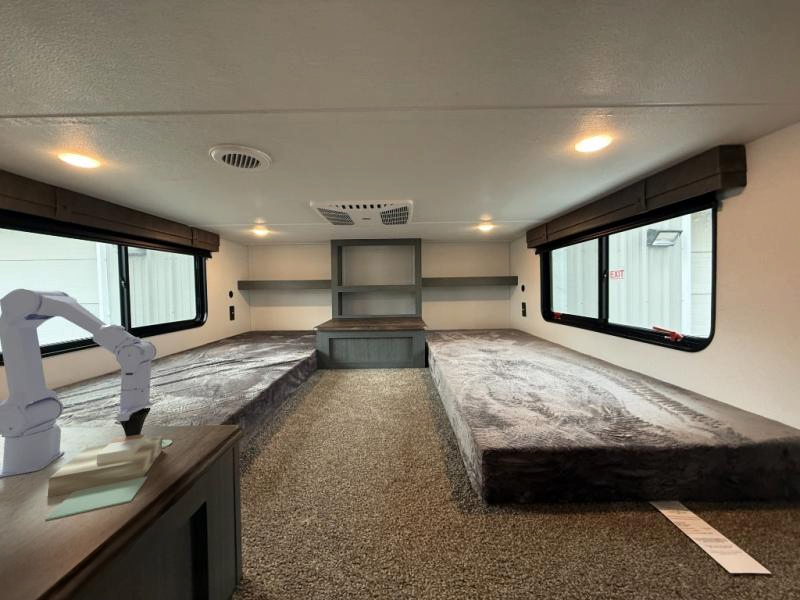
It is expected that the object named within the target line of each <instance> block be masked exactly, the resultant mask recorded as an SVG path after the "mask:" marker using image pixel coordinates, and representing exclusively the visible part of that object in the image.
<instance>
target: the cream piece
mask: <svg viewBox="0 0 800 600" xmlns="http://www.w3.org/2000/svg"><path fill="white" fill-rule="evenodd" d="M162 440H163V435H161V436H154V437H146V442H145V443H144V444H143V445H142V446H141V447H140V448H139V450H138V451H137V452H136V453H135V454H134V455H133V456H132V457H131V458H126V459H121V460H115V461H109V462H103V463H97V454H98V453H100V452H101V451H102V450H103V449H104V448H105V447H106V446H108V445H109V444H110V443H108V444H102V445H95V446H89V447H88V446H87V447H86V448H85V449H84V450H82V451H81V452H79V453H78V454H77V455H76V456H75V457H73V458H72V459H71V460H69V461H68V462H67V463H66V464H64V465H63V466H62V467H60V468H59V469H58V470H57V471H55V472H54V473H52V475H50V476H49V477H48V484H47V486H48V488H47V498H51V497H56V496H61V495H65V494H72V493H73V492H74V491H77V490H82V489H87V488H92V487H97V486H102V485H107V484H112V483H117V482H122V481H127V480H132V479H137V478H142V477H145V475H146V473H147V472H148V471H149V469H150V468H151V467H152V465H153V464H154V462H155V461H156V460H157V458H158V457H159V455H160V454H161V452H162V451H163V448H162ZM96 463H97V464H96Z"/></svg>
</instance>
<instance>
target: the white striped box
mask: <svg viewBox="0 0 800 600" xmlns="http://www.w3.org/2000/svg"><path fill="white" fill-rule="evenodd" d="M146 438H147V433H140V435H134V436H127V437H126V436H123V437H115V438H114V439H113V440H112V441H111V442H110V443H108V444H109V445H108V446H106V447H105V448H104V449H103V450H102V451H101V452H100V453H98V454H97V463H103V462H109V461H115V460H121V459H126V458H131V457H132V456H133V455H134V454H135V453H136V452H137V451H138V450H139V448H140V447H141V446H142V445H143V444H144V443H145V442H146ZM97 463H96V464H97Z"/></svg>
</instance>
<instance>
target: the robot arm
mask: <svg viewBox="0 0 800 600" xmlns="http://www.w3.org/2000/svg"><path fill="white" fill-rule="evenodd" d="M0 311H1V313H0V346H1V353H2V359H3V364H4V365H3V366H4V370H5V377H6V382H7V389H8V397H6V398H5V399H4V400H3V401H1V403H0V436H1V438H4V443H3V458H2V468H1V469H0V478H2V477H8V476H9V477H10V476H15V475H20V474H27V473H31V472H37V471H40V470H43V469H44V468H45V467H47V466H48V465H49V464H50V463H52V462H54V461H55V460H56V459H58V458H59V457H60V456H61V455H63V454H64V453H65V450H60V449H61V437H62V436H61V434H62V430H61V427H60V425H58V424H56V423H57V419H58V418H60V417H61V415H62V414H63V413H64V404H63V402H62V401H61V400H60V399H59V397H58V394H57V392H56V391H54V390H52V389H51V388H48V387H47V384H46V379H45V378H46V377H45V371H44V367H43V360H42V354H41V349H40V347H41V346H40V341H39V336H38V330H37V329H38V328H39V327H40V326H41V325H42V324H43V323H46V321H49V320H50V319H53V318H55V317H59V318H60V317H61V318H64V319H65V320H66V321H69V322H71V323H73V324H74V325H76V326H78V327H79V328H81V329H83V330H84V331H86V332H88V333H90V334H92V341H93V342H94V343H96V344H98V345H99V346H100V347H102V348H103V349H105V350H107V351H108V352H110V353H111V354H114V356H115V360H116V362H117V363H118V364H119V366H120V371H121V376H120V377H121V380H120V400H119V406H118V413H117V414H116V422H118V423H120V425H121V426H122V429H123V432H124V435H125V437H127V436H134V435H141V434H142V430H143V426H144V423H145V421H146V418H147V416H148V415H149V413H150V412H151V409H152V408H151V406H154V405H155V404H156V401H155V400H152V401H151V400H150V397H151V395H150V394H151V393H150V392H151V379H152V378H151V374H152V360H154V358H155V357H156V356H157V352H158V351H157V348H156V346H155V345H154V344H153V343H152V342H151V341H146V340H145V341H142V340H141V338H140V337H138V336H137V337H136V336H134V335H132V334H131V333H130V332H128V331H126V330H125V329H126V327H124V325H117V324H107V323H105V322H104V321H103V320H102V319H100V318H99V317H97V316H96V315H95V314H93V313H91V312H90V310H88V309H86V308H85V307H84V306H82V304H80V303H79V302H78V301H77V299H76V298H74V297H73V296H70V295H69V294H68V293H67V292H65V291H62V290H61V291H60V290H41V289H40V290H38V289H30V288H29V289H28V288H16V289H13V290H11V291H9V292H8V293H7V294H5V295H4V296H3V297H1V298H0Z"/></svg>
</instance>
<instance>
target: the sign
mask: <svg viewBox="0 0 800 600" xmlns="http://www.w3.org/2000/svg"><path fill="white" fill-rule="evenodd" d="M176 440H177V439H176ZM176 440H174V441H175V442H177V441H176ZM172 441H173V440H172V439H162V449H165V448H167V447H169V445H170V444H171V443H172V444H173V442H172ZM172 444H171V445H172ZM171 445H170V446H171Z"/></svg>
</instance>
